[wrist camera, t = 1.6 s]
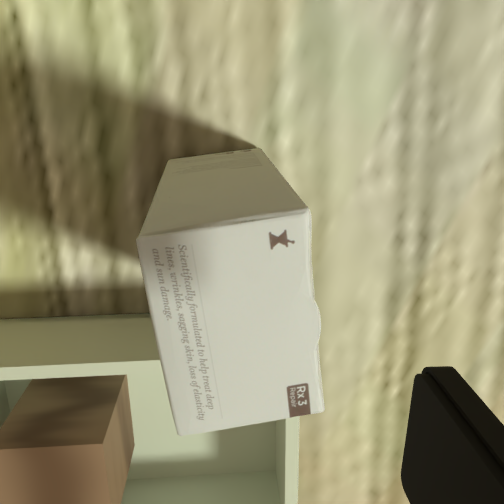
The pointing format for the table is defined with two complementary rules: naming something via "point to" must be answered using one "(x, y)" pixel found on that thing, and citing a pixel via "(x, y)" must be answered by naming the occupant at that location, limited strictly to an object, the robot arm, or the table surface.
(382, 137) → the table surface
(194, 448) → the tray
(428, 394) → the robot arm
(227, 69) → the table surface
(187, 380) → the skincare box
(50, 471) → the walnut block
